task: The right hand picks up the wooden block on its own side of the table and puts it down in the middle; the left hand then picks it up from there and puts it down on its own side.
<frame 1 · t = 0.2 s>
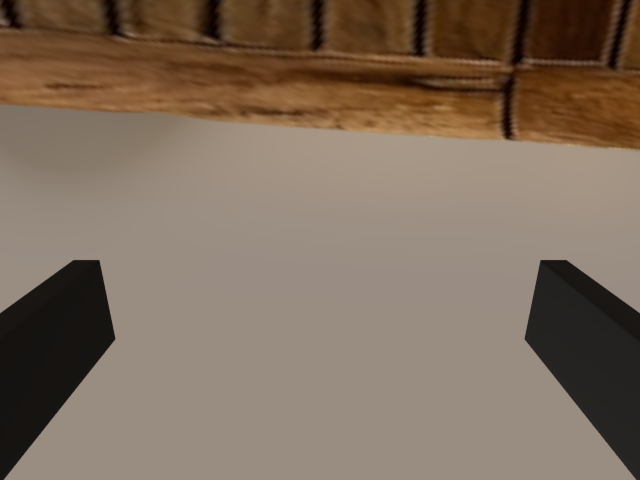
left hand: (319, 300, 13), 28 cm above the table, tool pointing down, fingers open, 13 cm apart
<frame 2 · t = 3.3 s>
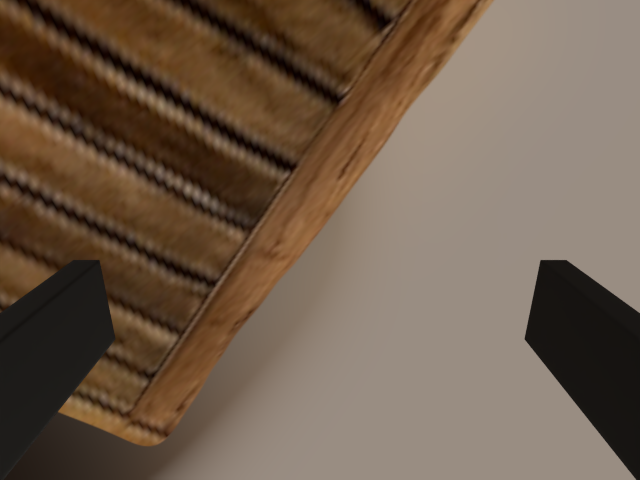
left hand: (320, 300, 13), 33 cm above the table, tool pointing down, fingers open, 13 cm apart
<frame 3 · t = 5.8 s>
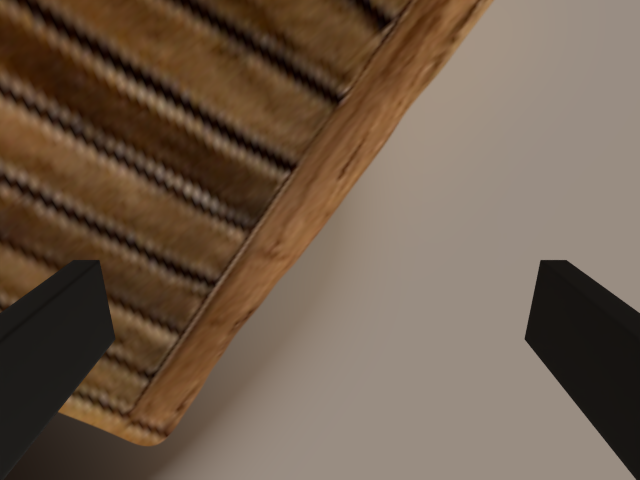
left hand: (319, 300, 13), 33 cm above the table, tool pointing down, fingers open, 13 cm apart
when the right hand's fingers open (2 cm above the table, at t = 8.5 s): block drops 1 cm, on the table.
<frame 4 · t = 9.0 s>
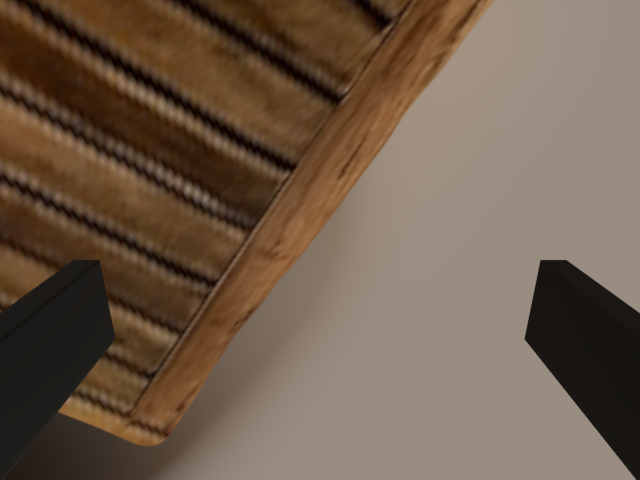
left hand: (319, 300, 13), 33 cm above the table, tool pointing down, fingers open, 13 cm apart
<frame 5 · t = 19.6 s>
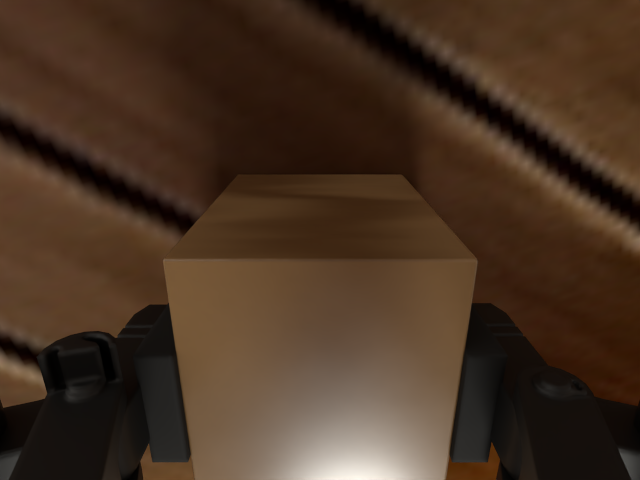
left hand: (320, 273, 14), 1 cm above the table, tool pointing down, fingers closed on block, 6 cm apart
block: (320, 259, 15), on the table, touching left hand
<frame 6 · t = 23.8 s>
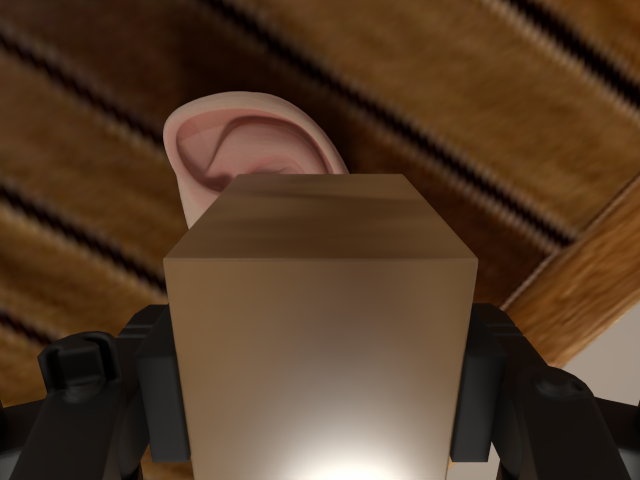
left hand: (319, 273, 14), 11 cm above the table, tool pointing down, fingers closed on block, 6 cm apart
anatomical model: (273, 207, 25), on the table
block: (320, 259, 15), point 10 cm above the table, touching left hand
when the left hand's fingers open (2 cm above the table, at t = 28.0 s): block drops 1 cm, on the table.
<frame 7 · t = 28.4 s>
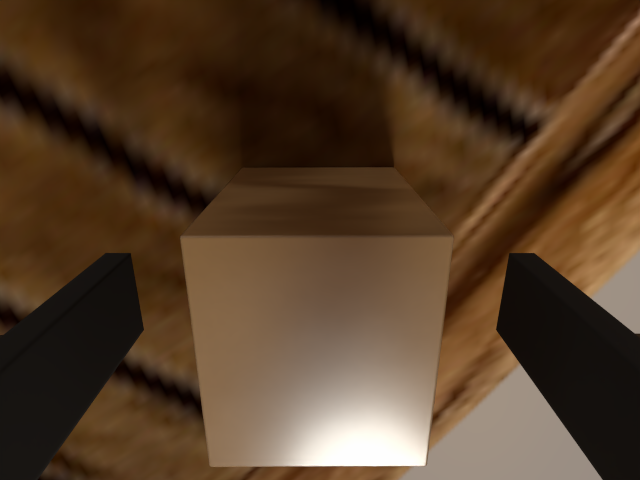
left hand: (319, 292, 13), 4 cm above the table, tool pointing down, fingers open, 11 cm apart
block: (318, 247, 17), on the table
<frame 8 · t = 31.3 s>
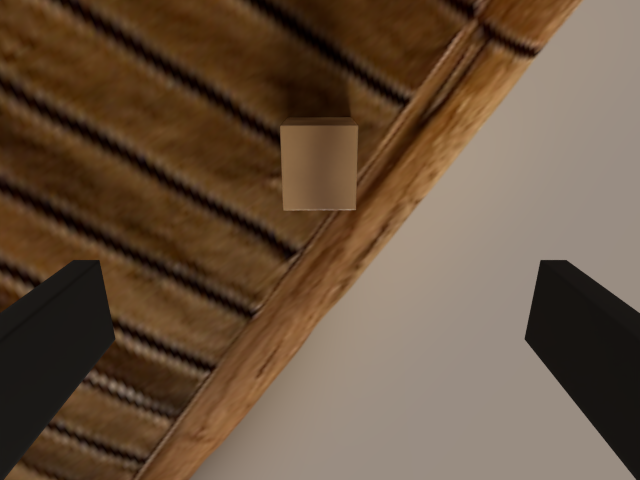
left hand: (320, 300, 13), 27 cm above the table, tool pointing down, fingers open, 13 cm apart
block: (319, 153, 38), on the table
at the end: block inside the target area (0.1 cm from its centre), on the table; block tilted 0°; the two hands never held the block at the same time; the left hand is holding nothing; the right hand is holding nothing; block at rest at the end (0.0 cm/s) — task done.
